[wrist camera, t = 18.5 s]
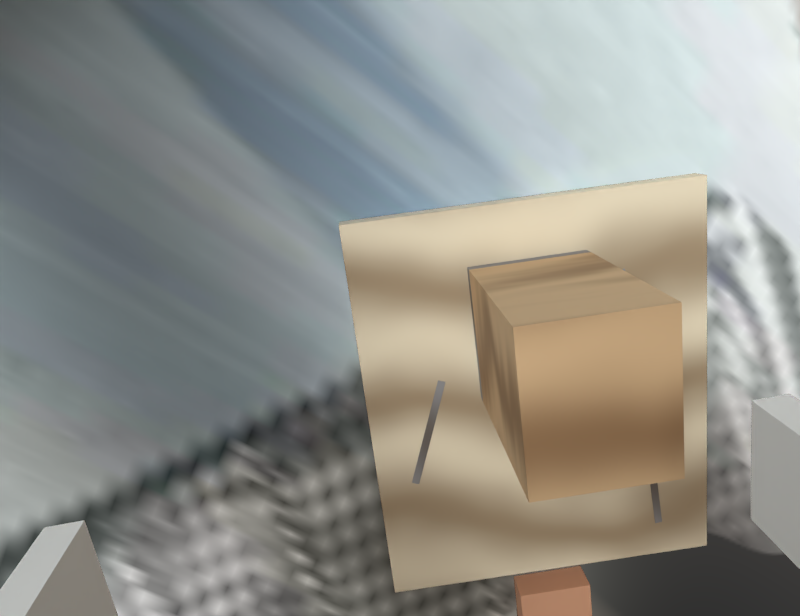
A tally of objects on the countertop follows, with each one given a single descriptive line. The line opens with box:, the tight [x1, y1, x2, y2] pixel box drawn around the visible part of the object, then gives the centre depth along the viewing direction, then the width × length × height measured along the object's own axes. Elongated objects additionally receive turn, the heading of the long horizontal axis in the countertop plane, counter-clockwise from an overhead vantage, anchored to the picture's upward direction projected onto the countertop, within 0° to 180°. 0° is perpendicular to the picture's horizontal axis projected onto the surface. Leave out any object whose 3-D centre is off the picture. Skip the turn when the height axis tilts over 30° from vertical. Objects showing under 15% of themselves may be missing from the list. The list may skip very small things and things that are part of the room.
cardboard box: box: [467, 250, 685, 503], centre depth 29 cm, size 7×6×10 cm
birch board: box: [339, 173, 707, 592], centre depth 35 cm, size 21×18×1 cm
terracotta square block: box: [514, 565, 592, 616], centre depth 39 cm, size 4×4×2 cm
